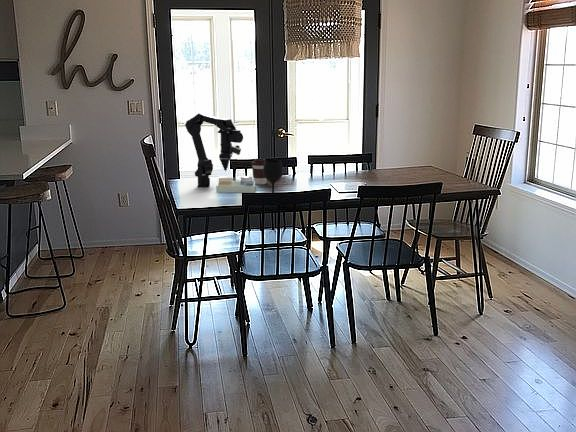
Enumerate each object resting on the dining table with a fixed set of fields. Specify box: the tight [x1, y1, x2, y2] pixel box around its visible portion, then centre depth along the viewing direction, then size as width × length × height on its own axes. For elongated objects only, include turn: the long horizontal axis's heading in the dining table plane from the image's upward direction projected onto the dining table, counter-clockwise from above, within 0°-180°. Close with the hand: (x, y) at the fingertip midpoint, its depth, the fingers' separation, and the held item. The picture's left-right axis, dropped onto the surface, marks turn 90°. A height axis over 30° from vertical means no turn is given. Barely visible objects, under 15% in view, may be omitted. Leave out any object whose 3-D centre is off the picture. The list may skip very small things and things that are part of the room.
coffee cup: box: [250, 158, 267, 185], centre depth 368 cm, size 10×10×15 cm
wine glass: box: [263, 159, 284, 194], centre depth 329 cm, size 10×10×20 cm
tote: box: [215, 180, 256, 193], centre depth 350 cm, size 21×15×4 cm
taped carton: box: [218, 176, 233, 186], centre depth 350 cm, size 7×5×7 cm
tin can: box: [240, 175, 254, 186], centre depth 350 cm, size 7×7×7 cm
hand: (226, 169), depth 350 cm, fingers open, 9 cm apart
